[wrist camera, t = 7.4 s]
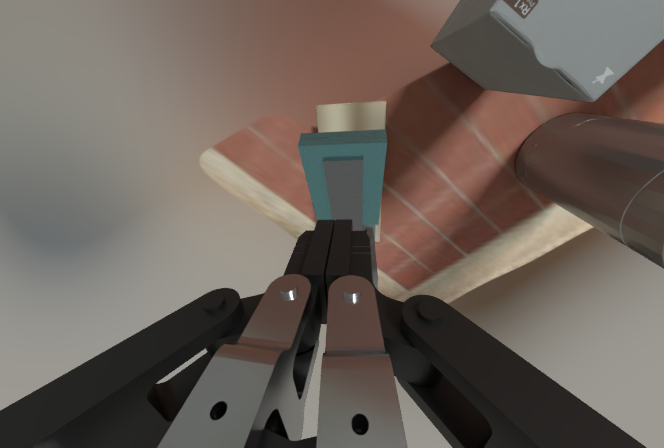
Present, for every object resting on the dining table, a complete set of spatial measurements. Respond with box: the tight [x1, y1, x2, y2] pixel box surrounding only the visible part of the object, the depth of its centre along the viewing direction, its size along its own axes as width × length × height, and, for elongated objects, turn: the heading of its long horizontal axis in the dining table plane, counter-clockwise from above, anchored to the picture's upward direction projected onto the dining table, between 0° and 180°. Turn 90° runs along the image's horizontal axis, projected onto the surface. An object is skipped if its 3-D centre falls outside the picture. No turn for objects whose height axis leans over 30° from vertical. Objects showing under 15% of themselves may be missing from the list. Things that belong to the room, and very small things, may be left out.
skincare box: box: [431, 0, 664, 102], centre depth 18 cm, size 8×7×16 cm
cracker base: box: [316, 101, 386, 289], centre depth 28 cm, size 8×19×13 cm, turn 4°
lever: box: [298, 129, 387, 231], centre depth 21 cm, size 5×17×11 cm, turn 4°
